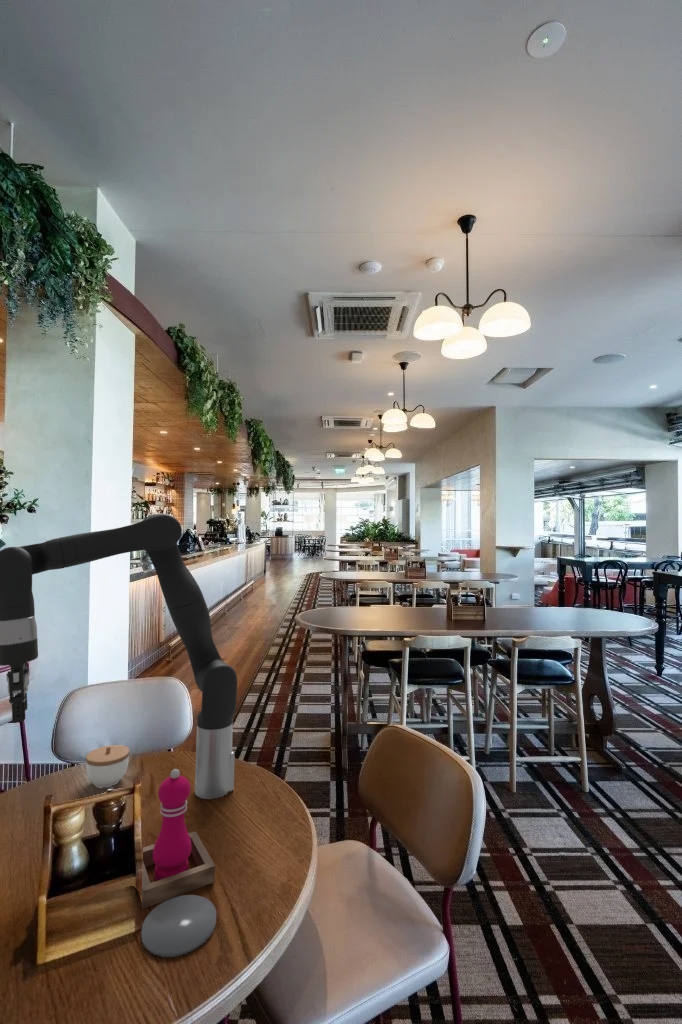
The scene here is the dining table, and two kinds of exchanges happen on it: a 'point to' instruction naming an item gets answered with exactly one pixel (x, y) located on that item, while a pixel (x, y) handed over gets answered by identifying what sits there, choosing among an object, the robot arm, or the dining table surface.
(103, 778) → the lidded jar
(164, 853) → the pepper mill
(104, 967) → the dining table surface
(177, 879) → the walnut board
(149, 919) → the grey round disc
